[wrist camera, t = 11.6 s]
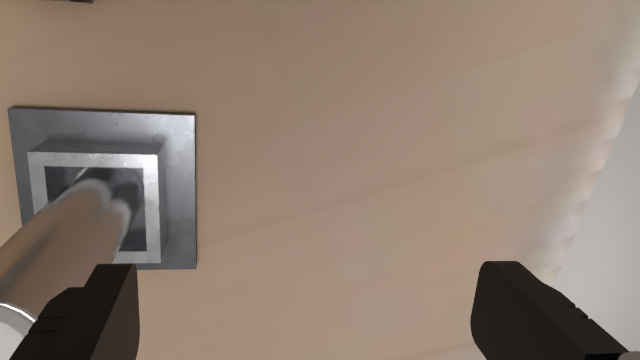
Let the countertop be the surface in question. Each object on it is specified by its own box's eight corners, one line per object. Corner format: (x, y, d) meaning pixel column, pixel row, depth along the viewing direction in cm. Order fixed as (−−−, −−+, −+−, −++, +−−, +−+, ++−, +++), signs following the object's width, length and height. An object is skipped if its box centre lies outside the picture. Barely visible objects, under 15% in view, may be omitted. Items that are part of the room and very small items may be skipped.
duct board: (13, 106, 44) (-15, 117, 39) (195, 113, 47) (190, 124, 42) (32, 265, 49) (9, 292, 44) (196, 263, 52) (192, 289, 47)
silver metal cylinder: (80, 228, 48) (-78, 433, 24) (65, 164, 45) (-123, 319, 22) (149, 221, 48) (61, 412, 25) (138, 158, 46) (31, 301, 23)
